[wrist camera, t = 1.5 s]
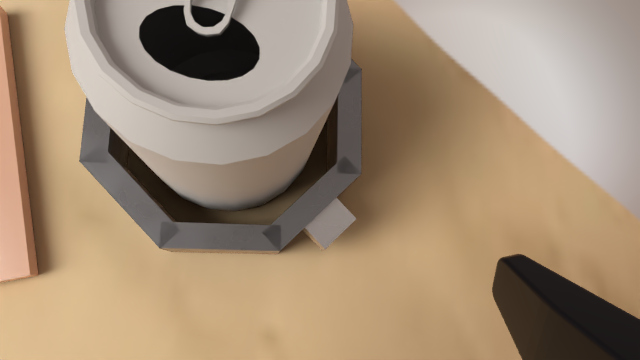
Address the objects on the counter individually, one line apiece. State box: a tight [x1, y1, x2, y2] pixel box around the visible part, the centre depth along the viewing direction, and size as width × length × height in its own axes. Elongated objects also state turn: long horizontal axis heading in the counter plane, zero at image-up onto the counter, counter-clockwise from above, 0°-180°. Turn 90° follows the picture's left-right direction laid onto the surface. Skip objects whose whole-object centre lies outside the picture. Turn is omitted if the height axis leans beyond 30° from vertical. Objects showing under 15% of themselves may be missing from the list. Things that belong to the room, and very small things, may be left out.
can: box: [64, 0, 353, 211], centre depth 17 cm, size 8×8×12 cm
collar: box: [79, 59, 362, 254], centre depth 22 cm, size 13×11×3 cm
